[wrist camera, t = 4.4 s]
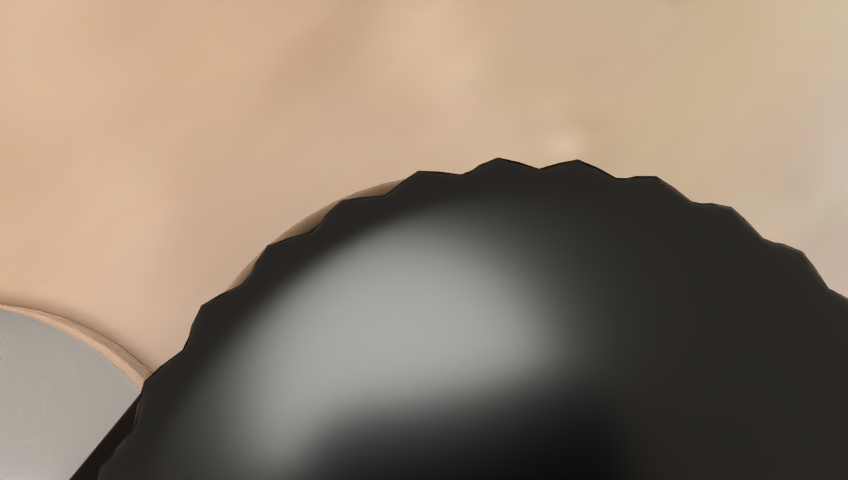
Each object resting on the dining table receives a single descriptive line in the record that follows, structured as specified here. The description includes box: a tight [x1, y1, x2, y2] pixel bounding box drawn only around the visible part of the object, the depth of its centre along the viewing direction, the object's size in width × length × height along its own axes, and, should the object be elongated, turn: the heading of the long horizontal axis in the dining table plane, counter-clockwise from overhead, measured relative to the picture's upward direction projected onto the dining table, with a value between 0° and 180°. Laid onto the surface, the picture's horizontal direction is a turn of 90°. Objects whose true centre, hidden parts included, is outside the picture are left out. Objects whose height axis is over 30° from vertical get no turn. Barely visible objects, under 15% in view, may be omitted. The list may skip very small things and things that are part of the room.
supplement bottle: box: [98, 158, 848, 480], centre depth 9 cm, size 7×7×12 cm
